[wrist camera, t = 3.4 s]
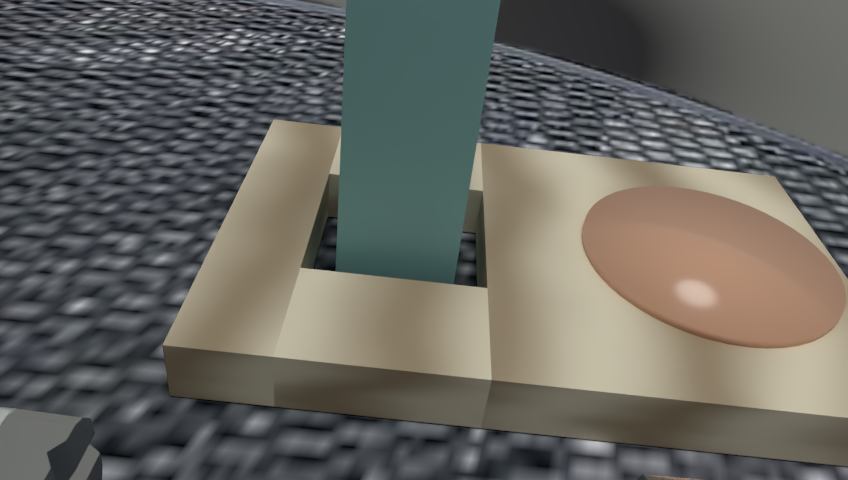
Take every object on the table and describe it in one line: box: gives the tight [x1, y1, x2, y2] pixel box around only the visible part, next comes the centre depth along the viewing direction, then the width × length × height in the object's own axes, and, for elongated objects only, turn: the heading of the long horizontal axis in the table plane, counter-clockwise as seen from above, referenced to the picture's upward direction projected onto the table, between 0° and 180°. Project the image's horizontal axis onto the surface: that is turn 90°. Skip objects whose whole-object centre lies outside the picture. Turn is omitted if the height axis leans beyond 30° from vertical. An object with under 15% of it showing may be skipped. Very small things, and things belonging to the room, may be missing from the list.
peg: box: [335, 0, 500, 284], centre depth 23 cm, size 4×4×12 cm
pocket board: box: [163, 120, 848, 466], centre depth 26 cm, size 22×14×2 cm, turn 87°
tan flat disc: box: [582, 186, 846, 349], centre depth 25 cm, size 9×9×1 cm
